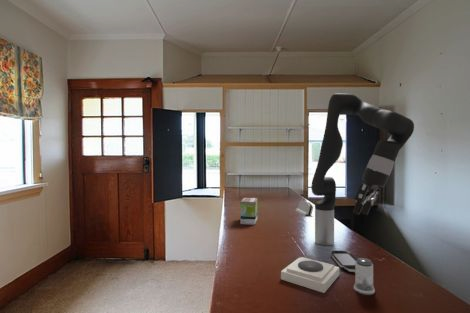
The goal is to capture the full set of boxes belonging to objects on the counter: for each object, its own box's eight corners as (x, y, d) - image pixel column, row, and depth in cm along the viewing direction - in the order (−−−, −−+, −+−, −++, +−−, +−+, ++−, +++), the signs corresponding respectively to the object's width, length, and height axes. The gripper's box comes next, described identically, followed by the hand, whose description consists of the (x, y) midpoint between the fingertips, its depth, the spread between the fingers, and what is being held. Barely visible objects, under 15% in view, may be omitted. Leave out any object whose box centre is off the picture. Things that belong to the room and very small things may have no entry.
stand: (299, 264, 113) (299, 253, 113) (339, 275, 103) (339, 263, 103) (281, 279, 100) (280, 267, 100) (324, 293, 90) (324, 279, 90)
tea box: (255, 225, 172) (255, 201, 172) (240, 224, 174) (239, 201, 173) (257, 218, 187) (257, 197, 187) (243, 218, 189) (242, 197, 188)
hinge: (294, 211, 209) (299, 198, 210) (300, 212, 210) (304, 200, 211) (304, 216, 193) (309, 202, 193) (310, 218, 194) (314, 204, 194)
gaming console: (368, 274, 104) (368, 268, 104) (344, 274, 104) (344, 268, 104) (348, 255, 123) (348, 249, 123) (328, 254, 124) (328, 249, 124)
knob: (356, 283, 97) (356, 255, 96) (376, 288, 93) (376, 259, 92) (351, 291, 92) (351, 261, 91) (372, 297, 88) (372, 266, 87)
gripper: (373, 169, 101) (356, 209, 103) (360, 163, 91) (342, 208, 93) (394, 176, 96) (376, 218, 98) (383, 171, 86) (363, 218, 88)
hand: (359, 213), depth 95 cm, fingers open, 8 cm apart
